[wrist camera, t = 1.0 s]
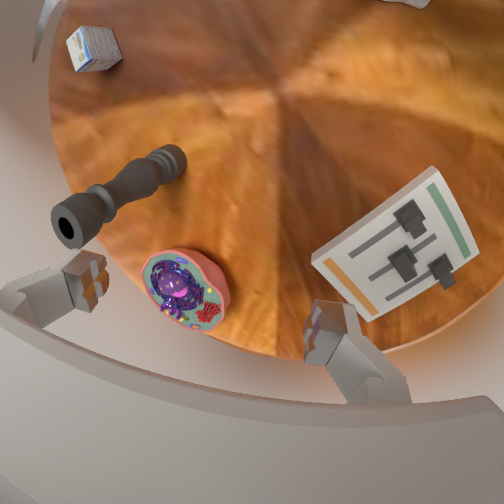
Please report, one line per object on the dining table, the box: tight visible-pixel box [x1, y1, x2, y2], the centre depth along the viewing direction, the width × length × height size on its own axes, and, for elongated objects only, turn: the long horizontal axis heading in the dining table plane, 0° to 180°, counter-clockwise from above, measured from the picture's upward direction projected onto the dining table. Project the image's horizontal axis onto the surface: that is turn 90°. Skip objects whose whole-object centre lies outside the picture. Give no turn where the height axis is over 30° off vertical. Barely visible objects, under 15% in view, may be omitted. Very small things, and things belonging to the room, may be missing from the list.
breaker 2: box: [427, 253, 456, 290], centre depth 38 cm, size 4×4×4 cm
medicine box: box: [66, 26, 123, 73], centre depth 32 cm, size 8×4×9 cm, turn 20°
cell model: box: [141, 248, 231, 332], centre depth 53 cm, size 17×20×11 cm
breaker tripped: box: [387, 244, 418, 283], centre depth 39 cm, size 4×4×4 cm
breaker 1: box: [393, 199, 427, 240], centre depth 35 cm, size 4×4×4 cm
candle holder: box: [51, 144, 187, 249], centre depth 35 cm, size 6×6×25 cm
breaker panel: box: [311, 165, 479, 322], centre depth 42 cm, size 26×18×3 cm
